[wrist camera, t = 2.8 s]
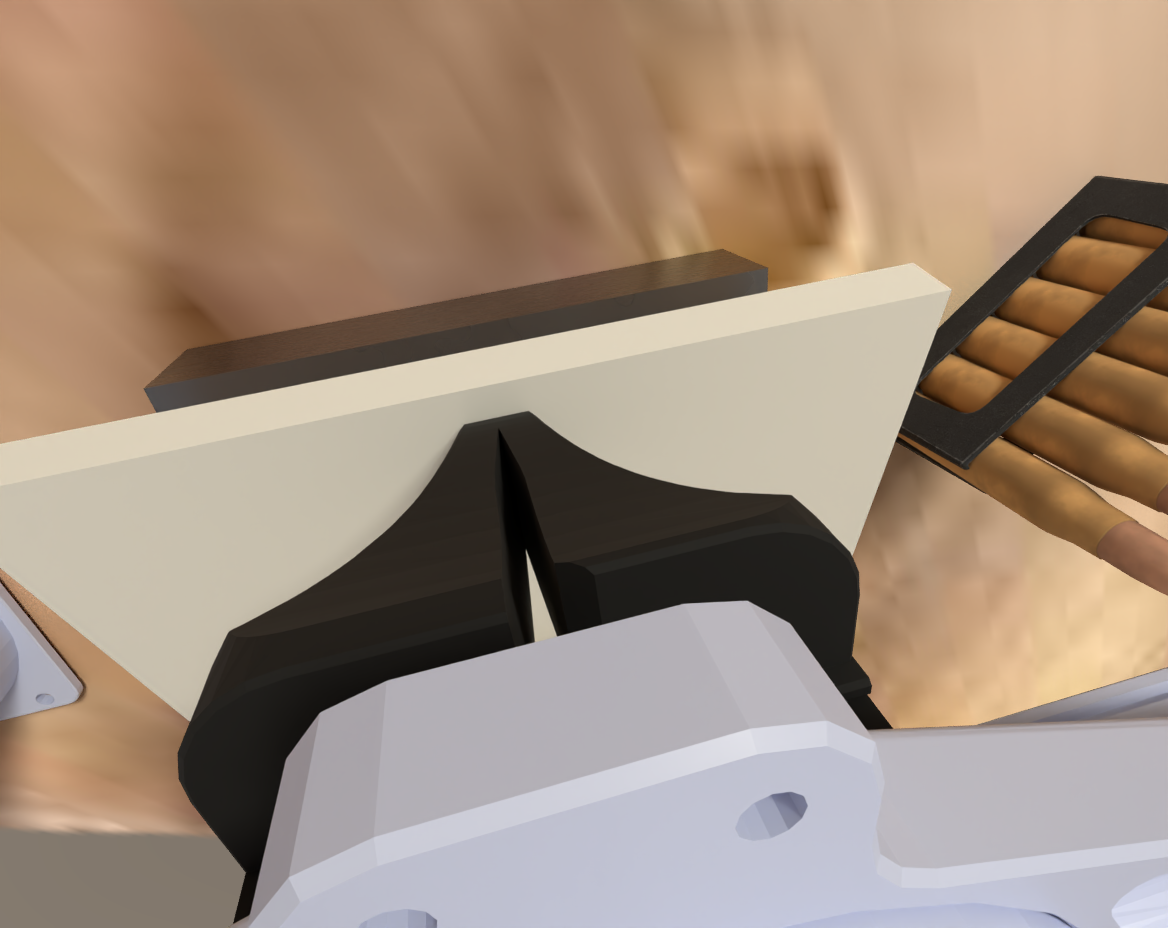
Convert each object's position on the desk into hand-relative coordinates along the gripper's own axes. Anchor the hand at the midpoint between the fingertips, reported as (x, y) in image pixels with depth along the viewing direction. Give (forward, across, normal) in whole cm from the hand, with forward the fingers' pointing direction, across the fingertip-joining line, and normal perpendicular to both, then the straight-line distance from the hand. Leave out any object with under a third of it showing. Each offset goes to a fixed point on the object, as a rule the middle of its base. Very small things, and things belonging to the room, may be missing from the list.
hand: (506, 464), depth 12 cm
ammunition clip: (+9, -18, +3) cm, 20 cm away
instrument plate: (+3, 0, +6) cm, 7 cm away
